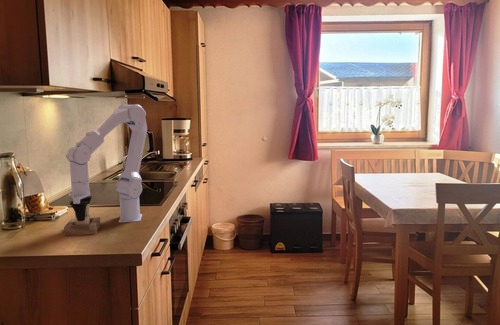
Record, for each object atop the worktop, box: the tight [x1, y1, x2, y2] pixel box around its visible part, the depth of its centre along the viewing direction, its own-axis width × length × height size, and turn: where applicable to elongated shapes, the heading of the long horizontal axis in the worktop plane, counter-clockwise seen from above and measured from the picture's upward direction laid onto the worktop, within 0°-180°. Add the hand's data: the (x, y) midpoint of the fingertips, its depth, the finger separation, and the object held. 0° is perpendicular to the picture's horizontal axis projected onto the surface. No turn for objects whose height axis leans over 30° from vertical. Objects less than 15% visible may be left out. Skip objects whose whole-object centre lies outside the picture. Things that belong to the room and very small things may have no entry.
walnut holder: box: [63, 216, 102, 236], centre depth 145 cm, size 10×10×3 cm
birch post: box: [74, 204, 91, 225], centre depth 145 cm, size 4×4×7 cm
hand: (82, 218), depth 145 cm, fingers closed on birch post, 4 cm apart
